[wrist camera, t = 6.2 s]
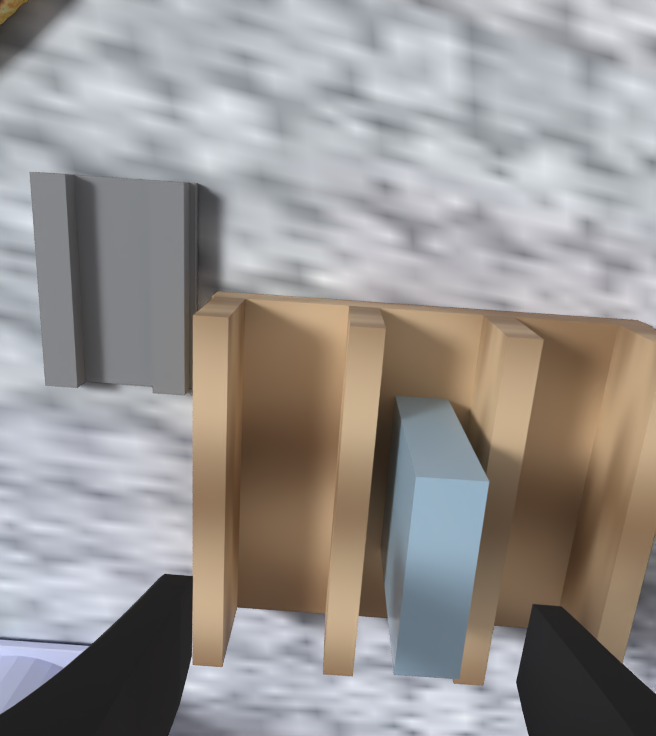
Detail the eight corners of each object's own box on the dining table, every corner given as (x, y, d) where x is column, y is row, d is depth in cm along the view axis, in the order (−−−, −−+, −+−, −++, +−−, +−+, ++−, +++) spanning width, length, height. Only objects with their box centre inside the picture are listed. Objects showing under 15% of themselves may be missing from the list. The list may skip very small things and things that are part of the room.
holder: (197, 386, 22) (190, 395, 21) (53, 376, 22) (39, 385, 21) (197, 183, 20) (190, 182, 19) (38, 172, 20) (23, 171, 19)
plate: (428, 551, 22) (459, 679, 16) (380, 548, 22) (393, 674, 16) (448, 399, 20) (489, 481, 15) (395, 395, 20) (415, 476, 15)
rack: (573, 614, 24) (617, 695, 20) (213, 588, 24) (189, 664, 20) (637, 320, 21) (705, 350, 17) (217, 291, 21) (188, 314, 17)
